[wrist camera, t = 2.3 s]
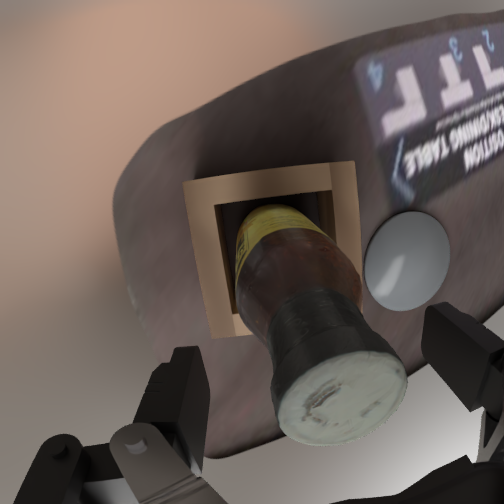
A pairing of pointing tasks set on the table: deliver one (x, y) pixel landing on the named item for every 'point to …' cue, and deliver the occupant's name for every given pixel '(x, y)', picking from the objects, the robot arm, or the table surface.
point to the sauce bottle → (313, 330)
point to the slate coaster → (406, 260)
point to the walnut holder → (253, 187)
